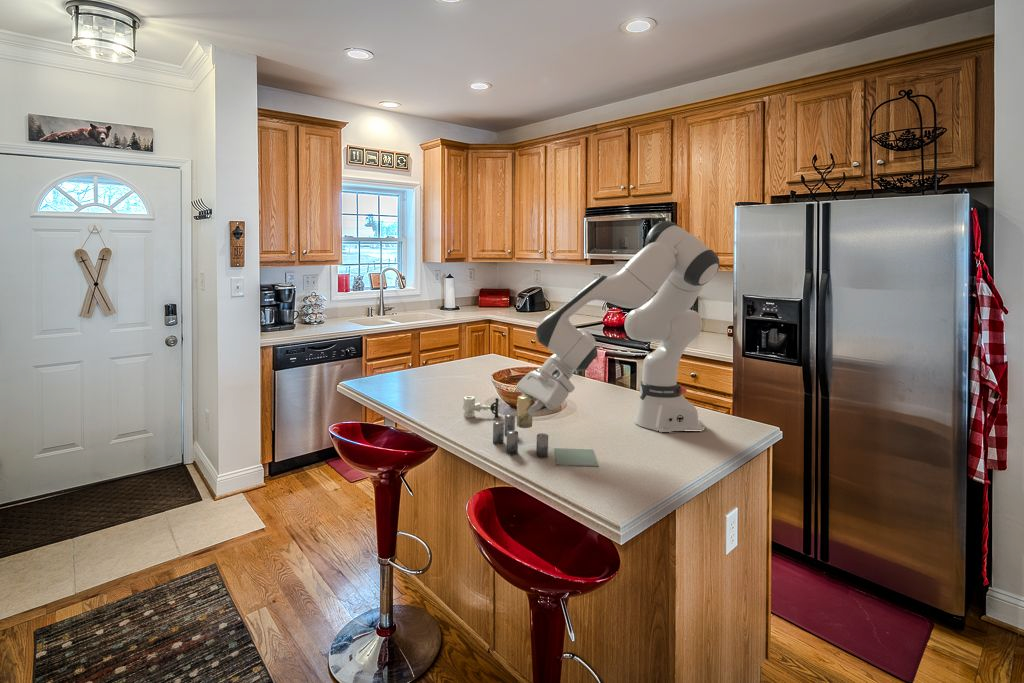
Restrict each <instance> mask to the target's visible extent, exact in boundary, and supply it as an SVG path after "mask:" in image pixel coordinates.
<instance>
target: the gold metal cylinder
mask: <svg viewBox="0 0 1024 683" xmlns="http://www.w3.org/2000/svg"><path fill="white" fill-rule="evenodd" d="M521 395H522V394H521ZM521 395H519V396H517V403H516V404H517V406H516V427H518V428H521V429H530V428H532V427H533V414H534V413H533V414H532V415H529V414H527V413H526V409H527V408H528V407H531V406H532V405H533V404H534V400H533V397H532V396H527V395H522V396H521Z"/></svg>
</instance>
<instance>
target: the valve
mask: <svg viewBox="0 0 1024 683" xmlns="http://www.w3.org/2000/svg"><path fill="white" fill-rule="evenodd" d="M475 402H476V398H475V396H464V397H463V404H462V408H463V417H464V416H465V418H467V417H472V416H474V417H476V412H481V411H482V410H483V411H488V410H490V411H491V413H492V414H493V415H494V417H495V418H499V408H500V407H499V406H500V405H499V398H497V397H495V402H493V403H492V404H490V406H489V405H488V404H481V402H477V403H475ZM472 418H473V417H472Z"/></svg>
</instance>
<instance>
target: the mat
mask: <svg viewBox="0 0 1024 683" xmlns="http://www.w3.org/2000/svg"><path fill="white" fill-rule="evenodd" d="M554 450H555V451H554ZM553 451H554V456H555V457H556V458H555V464H557V465H556V466H562V465H568V466H569V465H570V466H569V467H591V466H592V467H593V466H595V467H596V468H597V467H599V464H598V461H597V458H596V455H595V452H594V449H591V448H590V449H588V448H562V447H561V448H560V447H559V448H558V447H555V448H553ZM593 468H594V467H593Z"/></svg>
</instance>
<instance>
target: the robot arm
mask: <svg viewBox="0 0 1024 683" xmlns="http://www.w3.org/2000/svg"><path fill="white" fill-rule="evenodd" d="M644 241H645V242H644V247H642V248H641V249H640V250H639V251H638V252H636V254H635V255H634V256H632V258H630V259H629V260H628V262H627V263H626V264H624V266H623V267H622V268H621V269H620V270H619V271H617V272H616V273H613V274H612V275H604V274H603V275H600V276H598V277H597V278H595V279H594V280H592V281H591V282H590V283H589V284H587V285H586V286H584V287H583V288H582V289H581V290H580V291H578V292H577V293H576V294H575V295H574V296H571V298H570V299H568V301H566V302H565V303H564V304H562V305H561V307H560V308H558V309H556V310H555V311H553V312H552V313H550V314H548V315H547V316H545V317H544V318H543V319H542V320H540V322H539V324H538V325H537V327H536V328H535V334H536V340H537V342H538V343H539V344H540V345H542V346H544V347H545V348H546V349H548V350H549V351H550V352H552V353H553V354H552V355H550V356H549V357H547V359H546V360H545V361H544V362H543V363H542V365H541V366H540V367H539V368H536V369H534V370H533V369H532V370H530V371H529V372H527V373H526V374H525V375H524V376H523V377H522V378H521V379H520V380H519V381H518V383H517V384H516V387H515V388H516V389H517V391H519V392H520V393H521V395H520V396H522V395H527V396H532V397H533V402H534V403H533V405H532V406H531V407H528V408H527V409H526V413H527V414H529V415H532V414H534V413H535V412H537V411H539V410H541V409H542V408H543V407H546V408H547V409H549V410H551V411H555V410H558V408H559V407H560V406H561V405H562V404H563V403H564V402H565V400H566V399H567V398H568V396H569V393H572V392H574V391H575V386H574V384H573V382H572V381H571V378H572V377H573V375H574V373H575V372H585V371H586V370H588V367H589V366H590V365H591V363H592V362H593V361H594V360H596V358H597V357H598V347H597V345H596V344H597V341H596V338H595V337H594V336H593V335H592V333H590V332H589V331H588V330H586V329H584V328H577V327H576V326H575V325H574V324H572V323H571V321H570V318H571V317H572V316H573V315H574V314H576V313H577V312H578V311H579V310H581V309H582V308H583V307H585V306H586V305H587V304H588V303H591V302H593V301H602V302H606V303H609V304H612V305H614V306H617V307H620V308H625V309H631V310H630V311H629V312H628V313H627V315H626V317H625V319H624V330H625V333H626V335H627V336H628V338H630V339H631V340H634V341H639V342H644V343H649V342H650V343H651V342H652V343H654V342H656V343H657V342H659V344H658V346H657V347H656V349H655V350H654V351H651V352H650V353H648V354H647V355H646V356H645V358H644V359H643V364H642V377H641V378H642V380H641V381H640V386H639V398H640V399H639V404H638V410H637V413H636V416H635V418H634V424H636V425H637V426H639V427H641V428H644V429H648V430H652V431H656V432H658V431H659V433H662V432H669V433H672V432H671V431H685V430H703V429H705V430H706V425H705V424H704V422H703V421H701V419H699V413H698V410H697V408H696V407H695V405H693V404H692V403H691V402H690V401H689V400H687V399H686V397H684V396H683V395H685V394H687V388H686V387H684V386H682V385H680V384H679V383H677V382H678V371H679V366H680V361H681V357H682V355H683V353H684V352H685V350H686V349H687V348H688V346H689V345H690V344H691V343H692V342H693V341H694V340H695V339H697V338H698V337H699V336H700V335H701V332H702V329H703V321H702V318H701V316H700V314H699V313H698V312H697V311H696V310H692V309H691V308H692V307H693V306H694V304H695V302H696V300H697V299H698V296H699V295H700V293H701V291H702V289H703V286H704V285H706V284H707V283H709V282H710V281H711V280H712V279H713V278H714V277H715V276H716V275H717V273H718V271H719V268H720V258H719V256H718V255H717V254H716V253H715V251H714V250H713V249H710V248H709V247H708V246H707V245H706V244H705V243H704V242H703V241H702V240H701V239H699V238H698V237H696V236H695V235H693V234H692V233H690V232H688V231H687V230H685V229H684V228H682V227H680V226H679V225H678V224H677V223H675V222H673V221H670V220H664V221H659V222H657V223H655V225H654V226H652V228H651V229H650V230H649V231H648V233H647V235H646V238H645V240H644ZM516 407H517V403H516ZM532 416H533V415H532Z"/></svg>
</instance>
